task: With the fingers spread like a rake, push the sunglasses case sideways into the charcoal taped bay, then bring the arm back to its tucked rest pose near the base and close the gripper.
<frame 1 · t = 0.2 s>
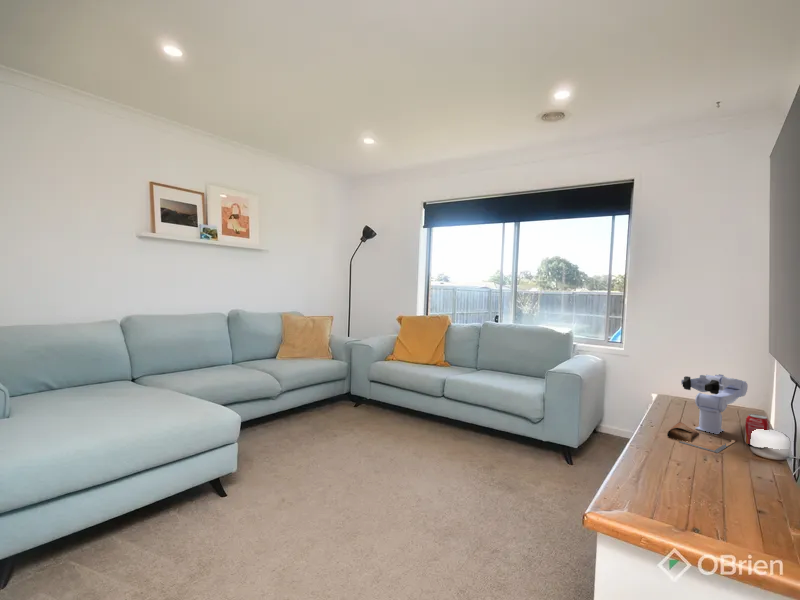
hand: (694, 386, 164), 21 cm above the table, tool horizontal, fingers open, 7 cm apart
taped bay: (705, 441, 162), on the table
soda can: (756, 446, 159), on the table
sunglasses case: (683, 436, 168), on the table
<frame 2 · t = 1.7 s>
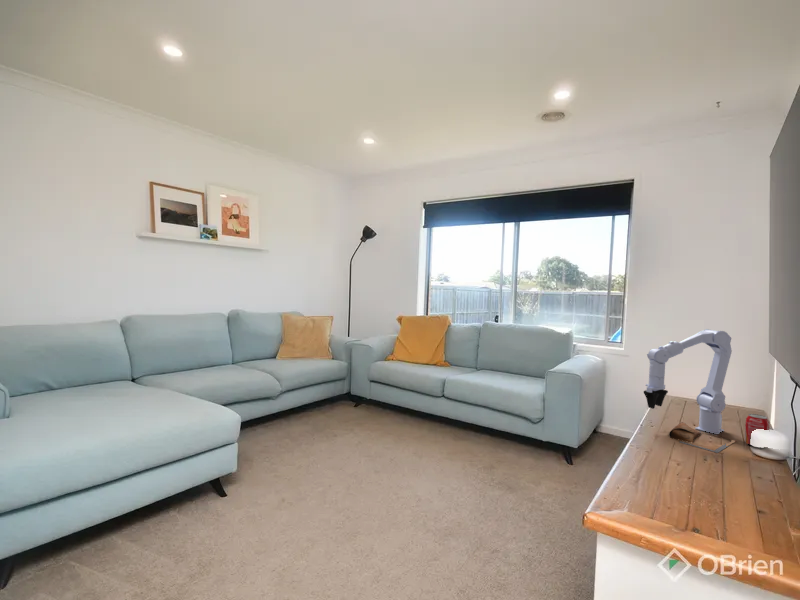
hand: (654, 406, 177), 9 cm above the table, tool pointing down, fingers open, 7 cm apart
nothing on the table moved.
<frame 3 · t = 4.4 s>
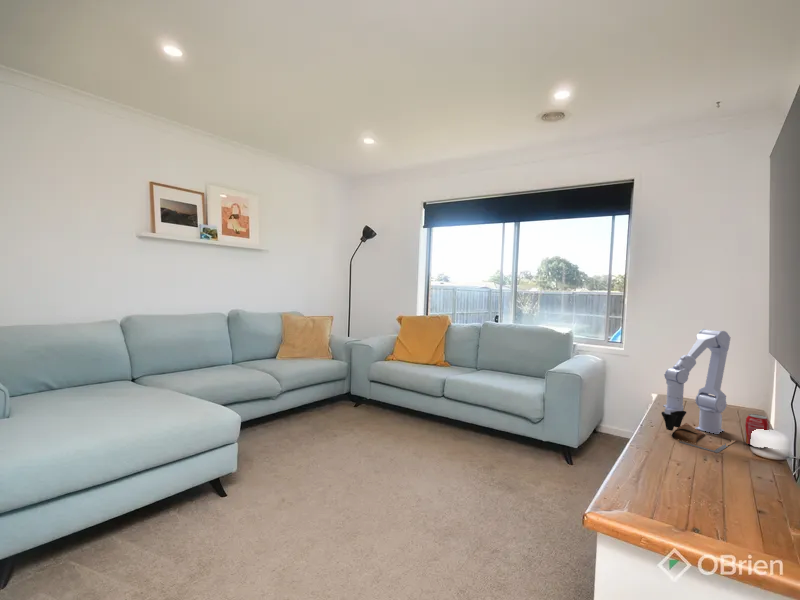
hand: (673, 428, 171), 2 cm above the table, tool pointing down, fingers open, 7 cm apart
sunglasses case: (688, 437, 167), on the table, touching gripper
everything else where it was.
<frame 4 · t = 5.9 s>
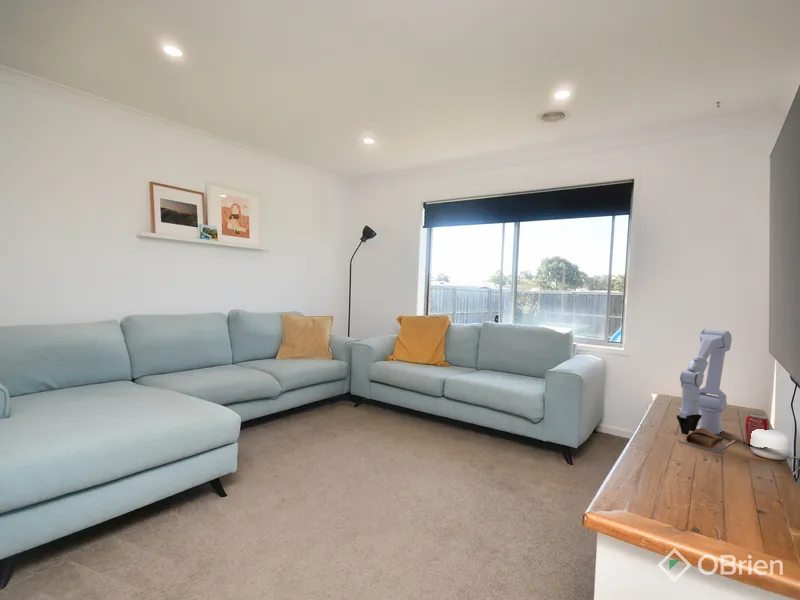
hand: (688, 432, 167), 2 cm above the table, tool pointing down, fingers open, 7 cm apart
sunglasses case: (704, 441, 163), on the table
everything else where it was.
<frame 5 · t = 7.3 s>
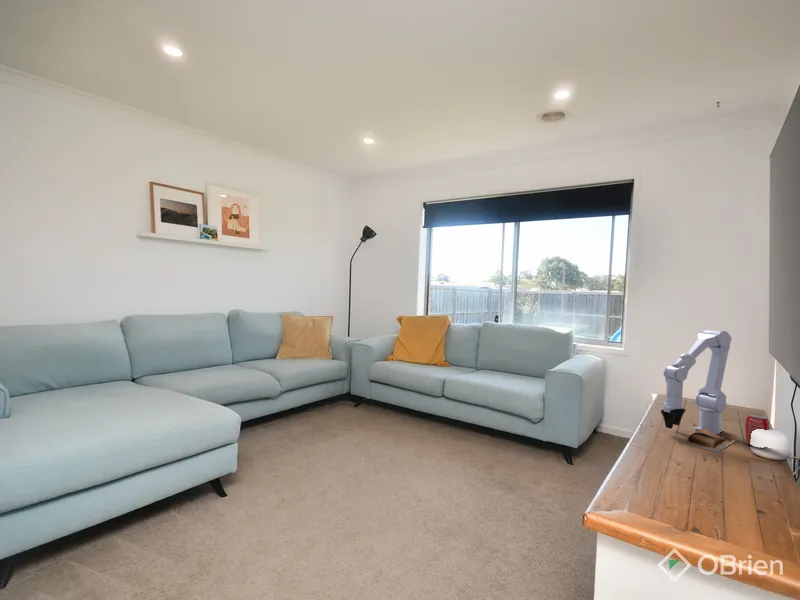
hand: (672, 426, 171), 2 cm above the table, tool pointing down, fingers open, 7 cm apart
nothing on the table moved.
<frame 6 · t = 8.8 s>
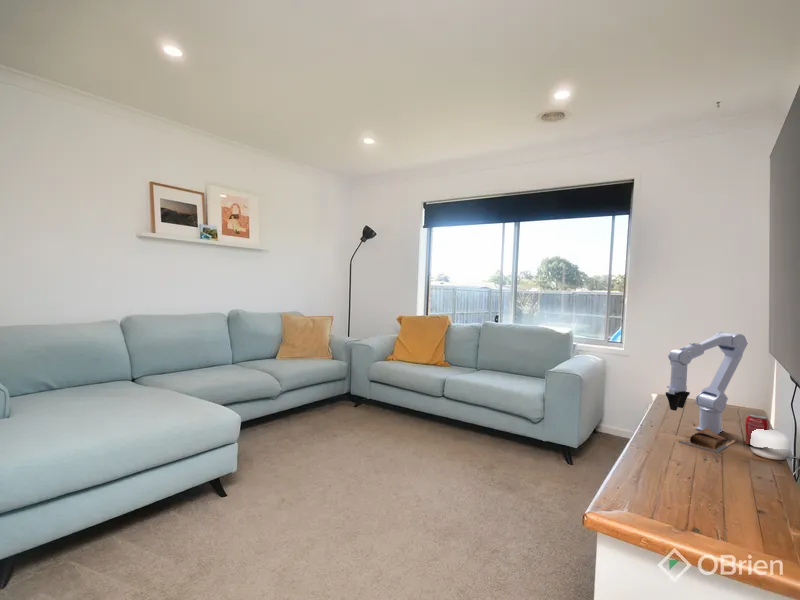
hand: (676, 408, 174), 9 cm above the table, tool pointing down, fingers open, 7 cm apart
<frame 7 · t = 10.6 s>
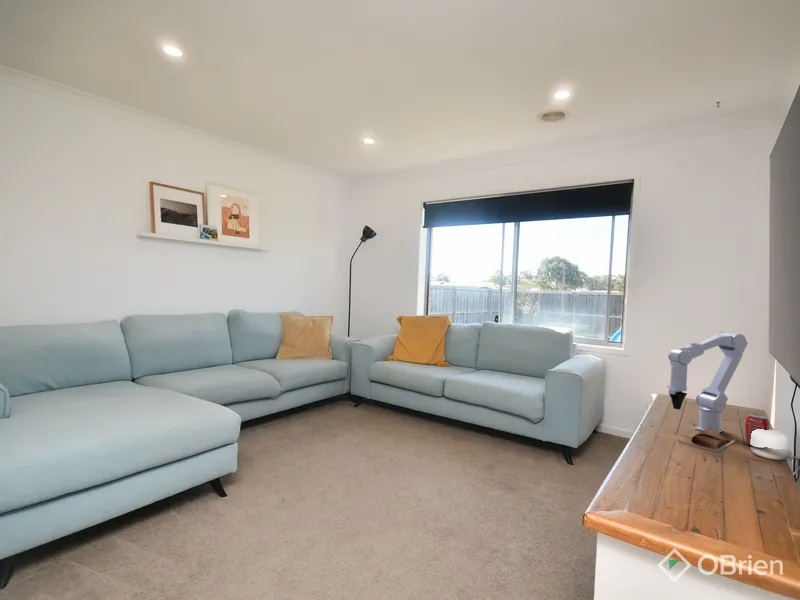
hand: (676, 408, 174), 9 cm above the table, tool pointing down, fingers closed
sunglasses case: (710, 443, 161), on the table, touching taped bay
everything else where it was.
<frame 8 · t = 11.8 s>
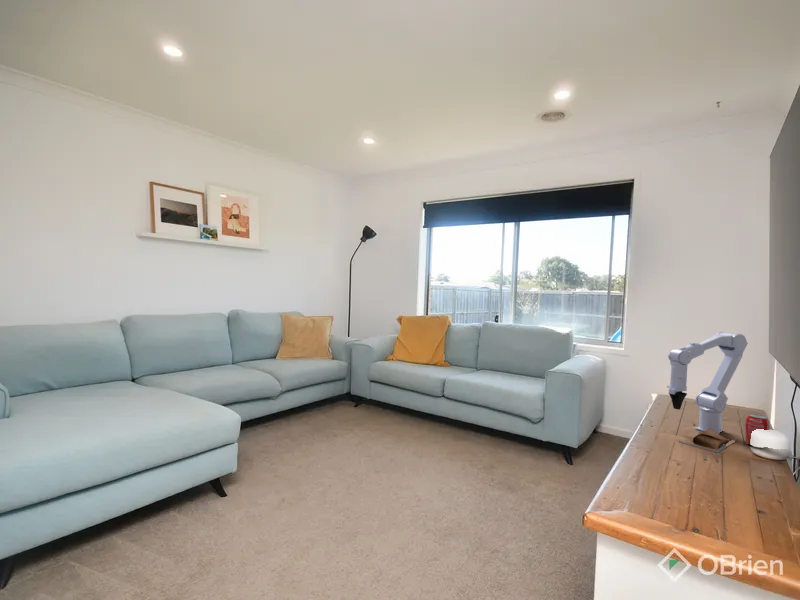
hand: (676, 408, 174), 9 cm above the table, tool pointing down, fingers closed
sunglasses case: (711, 443, 161), on the table
everything else where it was.
at the end: sunglasses case inside the target area (2.9 cm from its centre), on the table; sunglasses case moved 9.9 cm from its start; soda can moved 0.2 cm from its start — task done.
